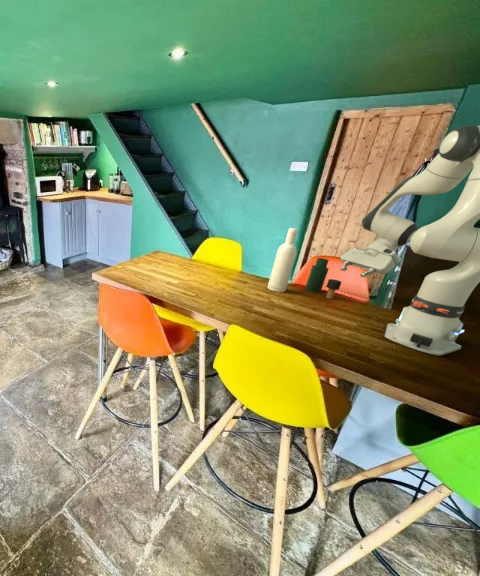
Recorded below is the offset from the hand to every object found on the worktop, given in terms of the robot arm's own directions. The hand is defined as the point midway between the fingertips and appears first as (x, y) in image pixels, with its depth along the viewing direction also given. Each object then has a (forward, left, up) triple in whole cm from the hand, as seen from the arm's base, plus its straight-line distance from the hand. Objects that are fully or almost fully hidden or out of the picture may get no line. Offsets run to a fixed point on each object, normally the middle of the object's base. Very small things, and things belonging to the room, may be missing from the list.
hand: (351, 272), depth 138 cm
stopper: (-7, +3, -12) cm, 15 cm away
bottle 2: (-2, +12, -12) cm, 17 cm away
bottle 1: (-20, +21, -13) cm, 32 cm away
